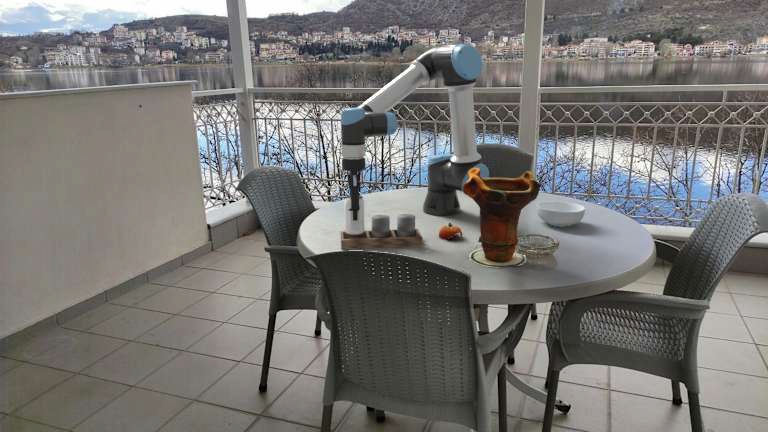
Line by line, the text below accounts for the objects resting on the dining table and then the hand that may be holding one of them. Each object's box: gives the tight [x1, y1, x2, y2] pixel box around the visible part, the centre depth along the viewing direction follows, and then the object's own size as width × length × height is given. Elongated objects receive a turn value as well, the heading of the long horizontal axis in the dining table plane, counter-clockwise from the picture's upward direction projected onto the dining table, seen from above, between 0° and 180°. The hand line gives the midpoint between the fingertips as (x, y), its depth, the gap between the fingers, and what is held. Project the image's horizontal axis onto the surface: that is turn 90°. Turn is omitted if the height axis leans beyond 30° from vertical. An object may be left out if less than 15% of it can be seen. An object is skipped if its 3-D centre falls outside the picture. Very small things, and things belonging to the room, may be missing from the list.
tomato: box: [438, 222, 463, 241], centre depth 183 cm, size 8×7×7 cm
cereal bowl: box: [536, 200, 586, 228], centre depth 197 cm, size 17×17×7 cm
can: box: [344, 195, 365, 235], centre depth 174 cm, size 6×6×12 cm
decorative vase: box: [462, 168, 542, 269], centre depth 160 cm, size 21×23×28 cm
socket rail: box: [340, 213, 423, 250], centre depth 176 cm, size 27×9×9 cm, turn 96°
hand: (354, 226), depth 175 cm, fingers closed on can, 6 cm apart
